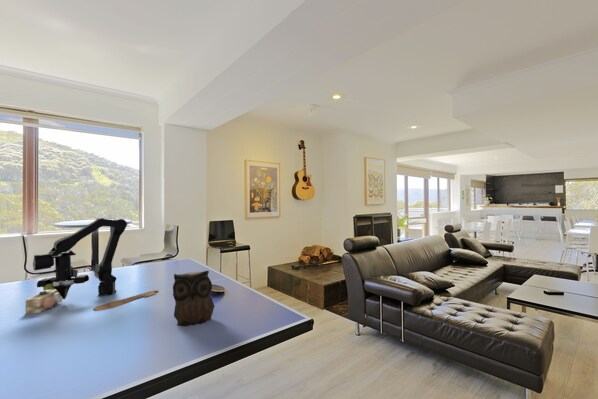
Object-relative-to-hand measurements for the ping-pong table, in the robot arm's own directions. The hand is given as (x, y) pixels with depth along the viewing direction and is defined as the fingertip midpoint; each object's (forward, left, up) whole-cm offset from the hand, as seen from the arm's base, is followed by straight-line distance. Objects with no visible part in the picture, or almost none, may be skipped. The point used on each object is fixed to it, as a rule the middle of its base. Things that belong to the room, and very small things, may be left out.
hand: (64, 298), depth 134 cm
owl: (-63, +35, -2) cm, 72 cm away
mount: (+7, +3, -2) cm, 8 cm away
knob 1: (+5, +7, -1) cm, 9 cm away
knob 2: (+5, 0, -1) cm, 5 cm away
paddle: (-28, +3, -3) cm, 29 cm away
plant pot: (+12, -14, -2) cm, 19 cm away
